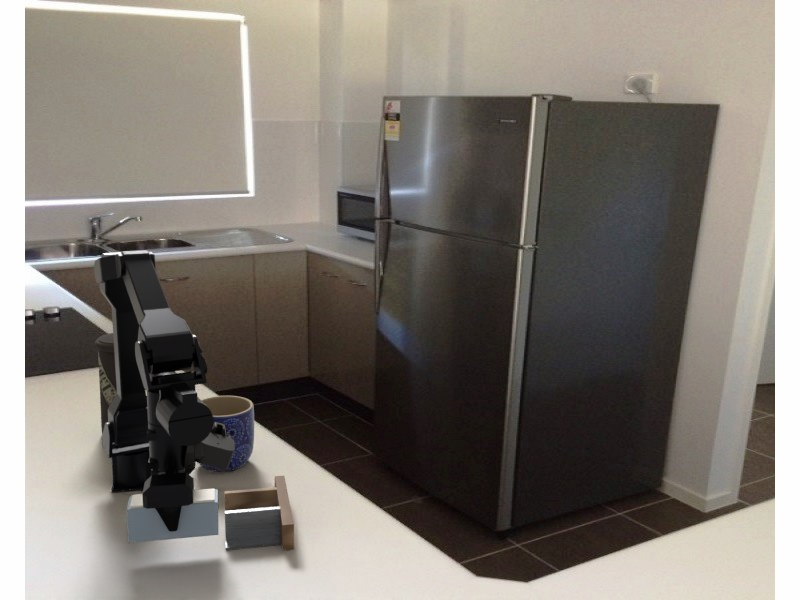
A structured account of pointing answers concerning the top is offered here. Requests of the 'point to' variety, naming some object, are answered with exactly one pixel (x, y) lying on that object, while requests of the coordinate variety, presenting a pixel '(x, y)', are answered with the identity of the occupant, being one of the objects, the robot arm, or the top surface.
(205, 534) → the book
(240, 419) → the planter
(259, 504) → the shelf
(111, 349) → the container
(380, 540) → the top surface
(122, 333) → the robot arm
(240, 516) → the bookend
